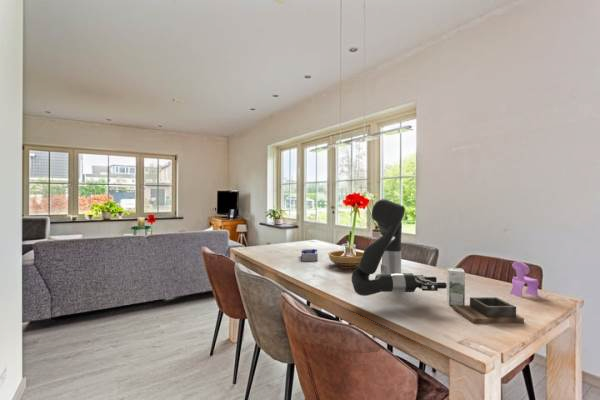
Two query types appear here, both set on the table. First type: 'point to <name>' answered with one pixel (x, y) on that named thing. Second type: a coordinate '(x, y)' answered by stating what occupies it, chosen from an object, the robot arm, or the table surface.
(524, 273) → the toy chair
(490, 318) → the socket block
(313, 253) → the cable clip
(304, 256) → the desk tidy
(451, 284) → the syrup box
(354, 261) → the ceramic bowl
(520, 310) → the table surface
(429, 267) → the table surface
